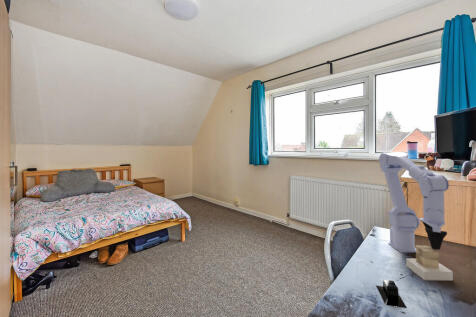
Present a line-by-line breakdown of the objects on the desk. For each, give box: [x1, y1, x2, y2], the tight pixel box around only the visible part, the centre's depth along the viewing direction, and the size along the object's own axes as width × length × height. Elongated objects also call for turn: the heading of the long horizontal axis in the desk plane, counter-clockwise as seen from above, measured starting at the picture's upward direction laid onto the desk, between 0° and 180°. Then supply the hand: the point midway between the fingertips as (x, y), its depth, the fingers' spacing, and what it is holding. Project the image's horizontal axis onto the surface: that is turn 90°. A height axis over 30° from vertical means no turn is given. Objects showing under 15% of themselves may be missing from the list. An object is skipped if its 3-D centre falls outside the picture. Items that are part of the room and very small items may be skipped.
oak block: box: [415, 244, 440, 268], centre depth 77 cm, size 4×4×6 cm
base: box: [405, 257, 454, 281], centre depth 78 cm, size 9×9×3 cm
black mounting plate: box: [375, 279, 408, 309], centre depth 67 cm, size 12×7×5 cm, turn 161°
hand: (433, 244), depth 79 cm, fingers open, 7 cm apart
